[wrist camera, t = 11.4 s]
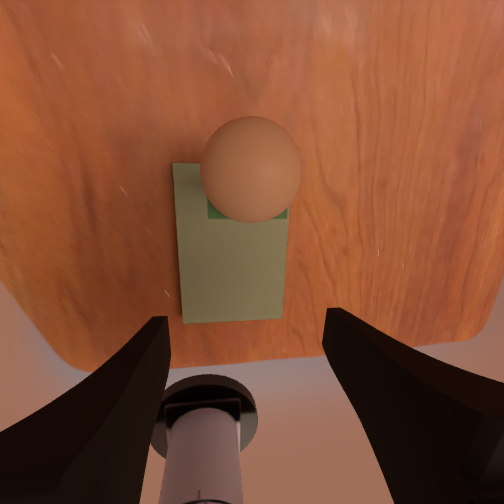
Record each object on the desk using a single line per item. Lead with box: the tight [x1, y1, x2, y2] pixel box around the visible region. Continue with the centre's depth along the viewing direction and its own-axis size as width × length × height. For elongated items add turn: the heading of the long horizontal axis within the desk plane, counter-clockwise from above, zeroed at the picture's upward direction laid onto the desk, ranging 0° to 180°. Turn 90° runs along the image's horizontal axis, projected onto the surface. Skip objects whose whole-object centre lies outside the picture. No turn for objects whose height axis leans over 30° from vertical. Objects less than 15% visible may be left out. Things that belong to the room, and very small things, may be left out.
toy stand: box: [172, 163, 290, 324], centre depth 20 cm, size 12×8×1 cm, turn 179°
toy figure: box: [200, 116, 302, 223], centre depth 12 cm, size 10×4×4 cm
